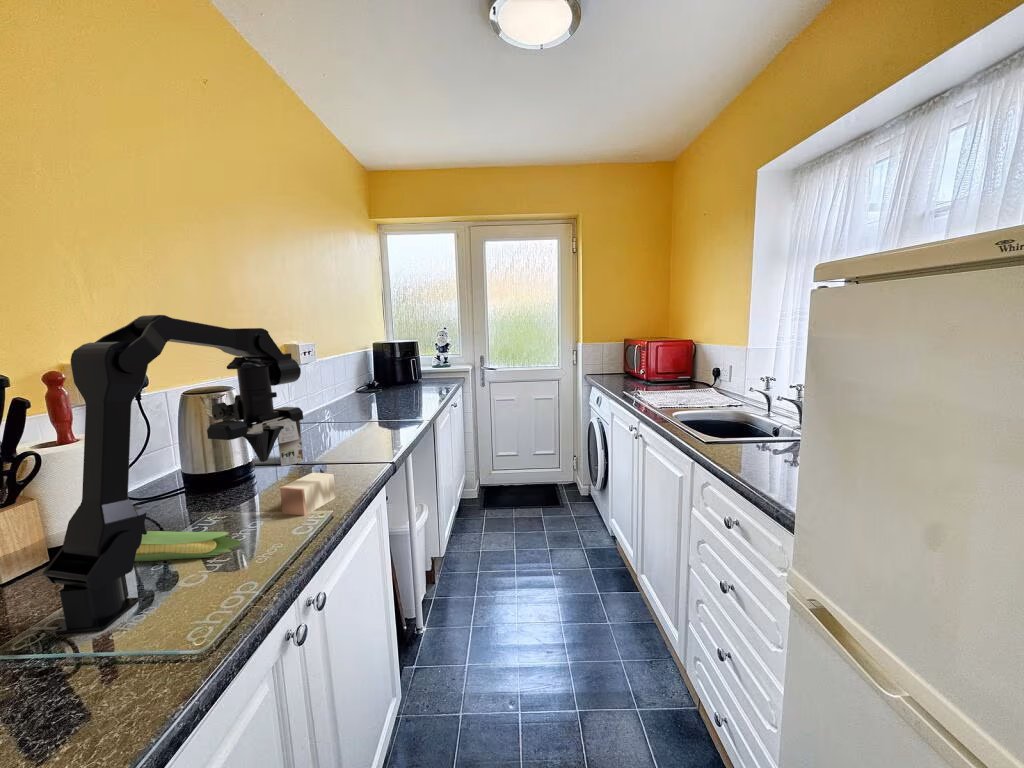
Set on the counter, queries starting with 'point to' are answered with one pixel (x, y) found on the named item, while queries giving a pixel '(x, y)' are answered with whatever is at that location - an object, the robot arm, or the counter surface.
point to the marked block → (307, 493)
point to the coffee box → (290, 442)
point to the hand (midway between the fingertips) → (263, 461)
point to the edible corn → (182, 545)
